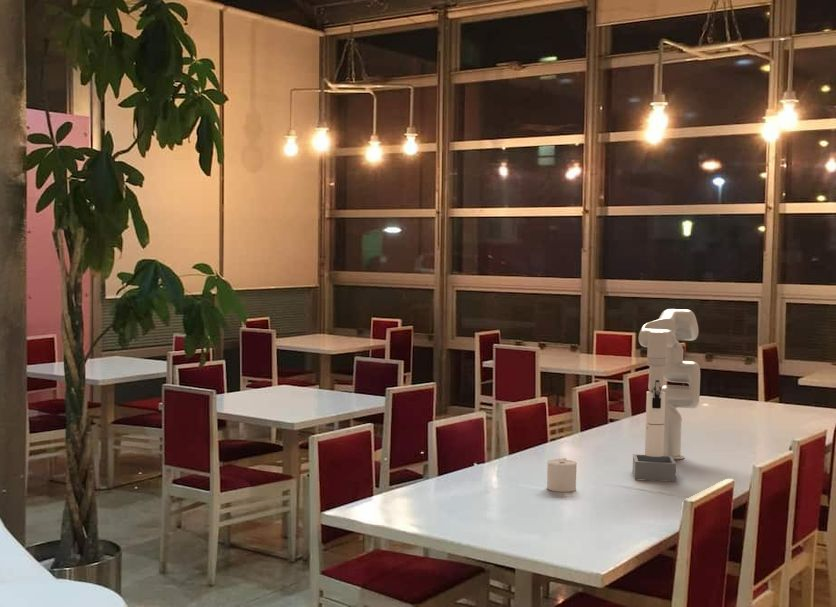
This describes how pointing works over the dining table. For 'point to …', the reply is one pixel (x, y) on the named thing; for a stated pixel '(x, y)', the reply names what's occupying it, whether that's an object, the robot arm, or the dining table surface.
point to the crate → (654, 467)
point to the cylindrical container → (654, 427)
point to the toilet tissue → (561, 475)
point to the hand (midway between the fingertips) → (655, 406)
